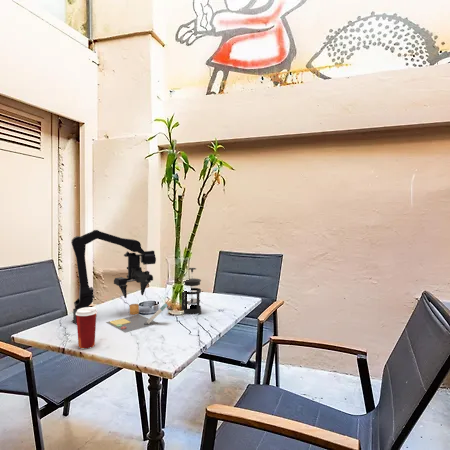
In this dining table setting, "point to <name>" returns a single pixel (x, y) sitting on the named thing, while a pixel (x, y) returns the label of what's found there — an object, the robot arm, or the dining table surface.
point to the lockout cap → (134, 309)
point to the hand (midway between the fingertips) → (134, 296)
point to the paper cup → (86, 326)
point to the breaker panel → (131, 323)
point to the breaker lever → (157, 313)
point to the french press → (193, 308)
